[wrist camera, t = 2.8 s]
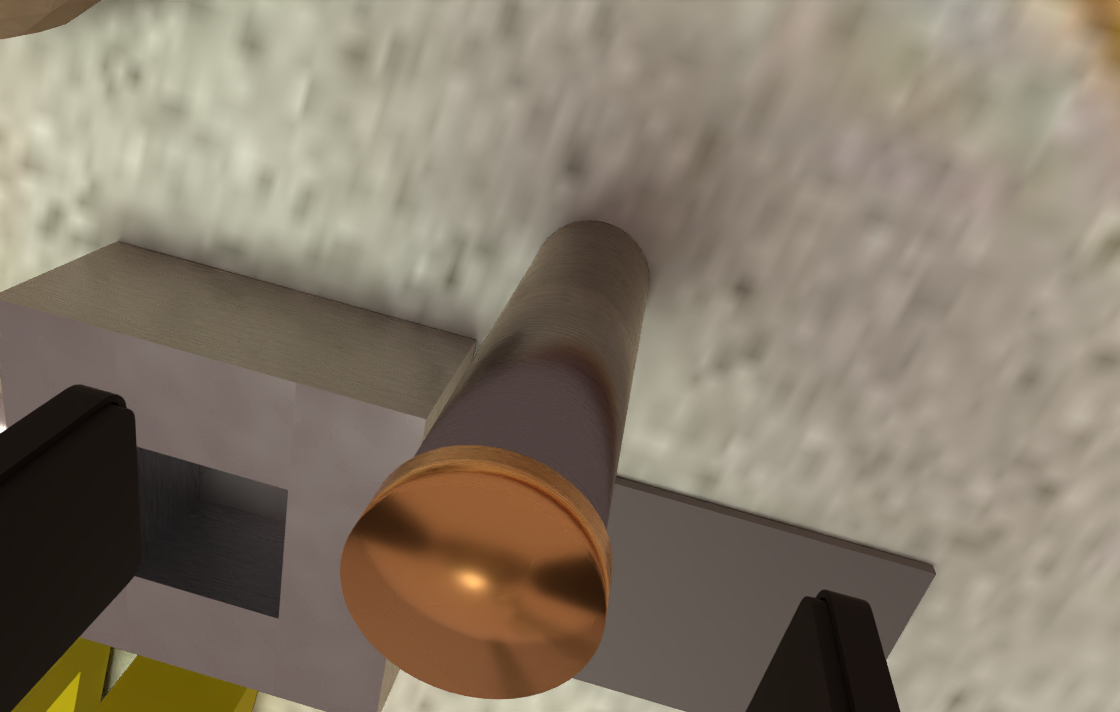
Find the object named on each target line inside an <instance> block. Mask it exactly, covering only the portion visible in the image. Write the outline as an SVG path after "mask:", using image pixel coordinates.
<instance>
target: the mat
mask: <svg viewBox="0 0 1120 712" xmlns="http://www.w3.org/2000/svg"><path fill="white" fill-rule="evenodd" d="M607 533H608V535H609V539H610V543H611V547H612V553H613V576H612V583H611V589H610V596H609V603H608V610H607V616H606V623H605V628H604V632H603V636H602V639H601V642H600V644H599V646H598V648H597V651H596V652H595V654H594V655H593V657H592V658H591V660H590V661H589V662H588V663H587V665H586V666H585V667H584V668H583V669H582V670H581V671H580V672H579V673H577V674H576V675H575V676H573V677H572V678H574V679H578V680H581V681H584V682H588V683H591V684H595V685H598V686H601V687H605V688H608V689H612V690H615V691H618V692H622V693H625V694H628V695H632V696H635V697H639V698H642V699H645V700H649V701H652V702H656V703H659V704H662V705H666V706H669V707H672V708H676V709H679V710H683V711H686V712H746V710H747V708H748V706H749V704H750V702H751V700H752V698H753V696H754V694H755V692H756V690H757V688H758V686H759V684H760V682H761V680H762V678H763V676H764V674H765V672H766V670H767V668H768V666H769V664H770V662H771V660H772V658H773V656H774V654H775V652H776V650H777V648H778V646H779V644H780V642H781V640H782V638H783V636H784V634H785V632H786V630H787V628H788V626H789V624H790V622H791V620H792V618H793V616H794V614H795V612H796V610H797V608H798V606H799V604H800V602H801V600H802V599H803V598H804V597H805V596H809V597H813V598H815V597H816V596H817V594H818V593H819V592H820V591H821V590H830V591H833V592H837V593H840V594H844V595H848V596H851V597H855V598H859V599H862V600H866V601H867V602H868V603H869V604H870V607H871V609H872V612H873V616H874V619H875V623H876V626H877V630H878V633H879V637H880V641H881V644H882V648H883V651H884V655H885V659H887V657H888V655H889V654H890V652H891V650H892V649H893V647H894V645H895V643H896V642H897V640H898V638H899V637H900V635H901V633H902V631H903V630H904V628H905V626H906V625H907V623H908V621H909V619H910V618H911V616H912V614H913V613H914V611H915V609H916V607H917V606H918V604H919V602H920V601H921V599H922V597H923V595H924V594H925V592H926V590H927V589H928V587H929V585H930V583H931V582H932V580H933V578H934V577H935V575H936V573H935V570H934V568H933V566H932V565H928V564H924V563H921V562H917V561H914V560H910V559H907V558H903V557H900V556H896V555H893V554H889V553H885V552H882V551H878V550H875V549H871V548H868V547H864V546H861V545H857V544H853V543H850V542H846V541H843V540H839V539H836V538H832V537H829V536H825V535H821V534H818V533H814V532H811V531H807V530H804V529H800V528H797V527H793V526H790V525H786V524H782V523H779V522H775V521H772V520H768V519H765V518H761V517H758V516H754V515H750V514H747V513H743V512H740V511H736V510H733V509H729V508H726V507H722V506H718V505H715V504H711V503H708V502H704V501H701V500H697V499H694V498H690V497H687V496H683V495H679V494H676V493H672V492H669V491H665V490H662V489H658V488H655V487H651V486H647V485H644V484H640V483H637V482H633V481H630V480H626V479H623V478H619V477H616V479H615V485H614V490H613V496H612V502H611V508H610V514H609V519H608V525H607Z"/></svg>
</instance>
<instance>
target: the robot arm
mask: <svg viewBox="0 0 1120 712" xmlns="http://www.w3.org/2000/svg"><path fill="white" fill-rule="evenodd" d="M141 558H142V543H141V523H140V503H139V483H138V463H137V443H136V423H135V415H134V413H133V411H132V410H130V409H128V408H127V407H126V402H125V400H124V399H123V397H122V396H120V395H118V394H114V393H110V392H107V391H103V390H100V389H96V388H92V387H89V386H85V385H81V384H77V385H73V386H70V387H68V388H67V389H65V390H64V391H62V392H61V393H59V394H58V395H56V396H55V397H53V398H52V399H50V400H49V401H47V402H46V403H44V404H43V405H41V406H40V407H38V408H37V409H35V410H34V411H32V412H31V413H29V414H28V415H26V416H25V417H23V418H22V419H20V420H19V421H17V422H16V423H15V424H13V425H12V426H10V427H9V428H7V429H6V430H4V431H3V432H1V433H0V712H11V711H12V710H13V709H14V708H15V707H16V706H17V705H18V703H19V702H20V701H21V700H22V699H23V698H24V697H25V696H26V695H27V694H28V693H29V691H30V690H31V689H32V688H33V687H34V686H35V685H36V684H37V683H38V682H39V681H40V679H41V678H42V677H43V676H44V675H45V674H46V673H47V672H48V671H49V670H50V669H51V667H52V666H53V665H54V664H55V663H56V662H57V661H58V660H59V659H60V658H61V657H62V655H63V654H64V653H65V652H66V651H67V650H68V649H69V648H70V647H71V646H72V645H73V643H74V642H75V641H76V640H77V639H78V638H79V637H80V636H81V635H82V634H83V633H84V631H85V630H86V629H87V628H88V627H89V626H90V625H91V624H92V623H93V622H94V621H95V619H96V618H97V617H98V616H99V615H100V614H101V613H102V612H103V611H104V610H105V609H106V607H107V606H108V605H109V604H110V603H111V602H112V601H113V600H114V599H115V598H116V597H117V595H118V594H119V593H120V592H121V591H122V590H123V589H124V588H125V587H126V586H127V584H128V583H129V582H130V581H131V580H132V578H133V577H134V576H135V574H136V572H137V570H138V568H139V565H140V562H141ZM746 712H900V709H899V705H898V702H897V698H896V695H895V691H894V687H893V684H892V680H891V677H890V673H889V669H888V666H887V662H886V659H885V655H884V651H883V648H882V644H881V641H880V637H879V633H878V630H877V626H876V623H875V619H874V616H873V612H872V609H871V607H870V604H869V603H868V602H867V601H866V600H862V599H859V598H855V597H851V596H848V595H844V594H840V593H837V592H833V591H830V590H821V591H820V592H819V593H818V594H817V596H816V597H815V598H813V597H809V596H805V597H804V598H803V599H802V600H801V602H800V604H799V606H798V608H797V610H796V612H795V614H794V616H793V618H792V620H791V622H790V624H789V626H788V628H787V630H786V632H785V634H784V636H783V638H782V640H781V642H780V644H779V646H778V648H777V650H776V652H775V654H774V656H773V658H772V660H771V662H770V664H769V666H768V668H767V670H766V672H765V674H764V676H763V678H762V680H761V682H760V684H759V686H758V688H757V690H756V692H755V694H754V696H753V698H752V700H751V702H750V704H749V706H748V708H747V710H746Z"/></svg>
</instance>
